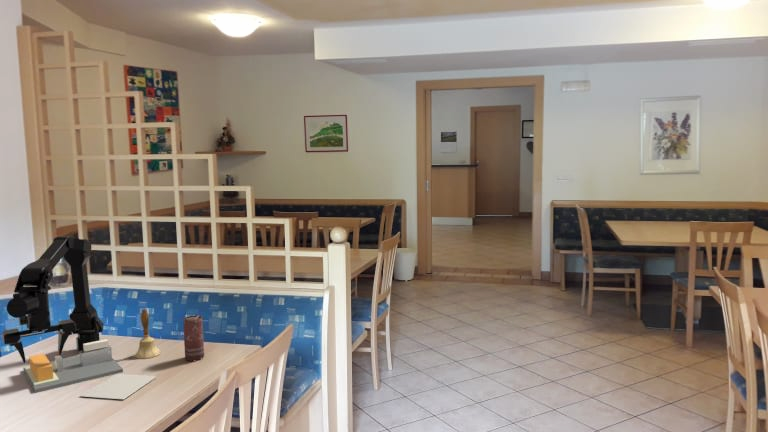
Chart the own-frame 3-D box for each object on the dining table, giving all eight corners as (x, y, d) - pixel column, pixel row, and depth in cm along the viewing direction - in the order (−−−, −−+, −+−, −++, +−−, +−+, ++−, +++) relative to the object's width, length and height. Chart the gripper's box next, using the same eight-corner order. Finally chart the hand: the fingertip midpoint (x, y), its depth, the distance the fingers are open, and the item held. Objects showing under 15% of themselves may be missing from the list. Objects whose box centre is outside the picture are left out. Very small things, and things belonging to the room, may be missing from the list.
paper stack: (185, 380, 176) (185, 378, 176) (137, 417, 151) (137, 415, 151) (116, 375, 180) (116, 373, 180) (58, 411, 155) (58, 409, 155)
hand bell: (136, 360, 192) (133, 313, 190) (133, 353, 199) (130, 308, 197) (162, 356, 196) (160, 310, 194) (158, 348, 203) (156, 304, 201)
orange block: (44, 365, 184) (43, 353, 184) (53, 378, 174) (52, 365, 173) (30, 368, 182) (29, 356, 181) (38, 381, 171) (37, 369, 171)
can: (208, 355, 195) (206, 315, 194) (196, 362, 189) (194, 320, 188) (193, 353, 197) (191, 314, 196) (181, 360, 191) (179, 319, 190)
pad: (47, 363, 187) (47, 362, 187) (59, 380, 173) (59, 379, 173) (24, 368, 183) (24, 367, 183) (34, 385, 169) (34, 384, 169)
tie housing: (109, 357, 192) (108, 344, 191) (112, 360, 189) (111, 347, 189) (55, 369, 182) (54, 356, 181) (57, 372, 179) (56, 358, 179)
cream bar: (106, 345, 190) (106, 339, 190) (108, 346, 189) (108, 340, 189) (83, 349, 186) (83, 343, 186) (84, 351, 184) (84, 345, 184)
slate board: (104, 353, 199) (104, 350, 199) (123, 371, 182) (122, 368, 182) (23, 370, 184) (23, 367, 183) (35, 392, 167) (35, 389, 167)
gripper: (67, 297, 184) (70, 345, 186) (-3, 308, 172) (1, 358, 174) (75, 304, 175) (78, 354, 177) (2, 316, 164) (6, 369, 165)
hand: (42, 358), depth 174 cm, fingers open, 9 cm apart
